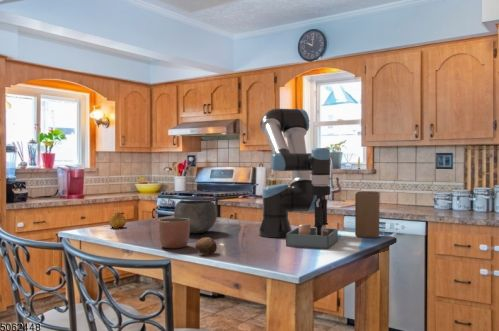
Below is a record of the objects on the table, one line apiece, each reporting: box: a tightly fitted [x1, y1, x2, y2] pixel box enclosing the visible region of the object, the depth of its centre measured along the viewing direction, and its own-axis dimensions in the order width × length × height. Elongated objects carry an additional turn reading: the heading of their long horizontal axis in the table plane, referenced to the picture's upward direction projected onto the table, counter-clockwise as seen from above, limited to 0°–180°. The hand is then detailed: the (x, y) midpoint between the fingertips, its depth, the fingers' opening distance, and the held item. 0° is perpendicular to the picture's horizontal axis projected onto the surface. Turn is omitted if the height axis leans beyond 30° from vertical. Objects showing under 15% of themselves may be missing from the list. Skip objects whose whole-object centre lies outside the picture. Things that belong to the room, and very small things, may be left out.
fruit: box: [108, 212, 127, 229], centre depth 231 cm, size 8×8×8 cm
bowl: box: [173, 199, 218, 234], centre depth 213 cm, size 20×20×15 cm
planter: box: [158, 217, 190, 250], centre depth 179 cm, size 12×12×11 cm
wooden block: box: [354, 190, 380, 239], centre depth 202 cm, size 10×10×20 cm
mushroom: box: [195, 236, 217, 256], centre depth 166 cm, size 8×8×6 cm
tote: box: [285, 226, 339, 250], centre depth 185 cm, size 17×19×5 cm
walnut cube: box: [314, 230, 329, 236], centre depth 183 cm, size 5×5×5 cm
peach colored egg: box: [298, 223, 312, 235], centre depth 186 cm, size 5×5×7 cm
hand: (321, 241), depth 184 cm, fingers closed on walnut cube, 5 cm apart
